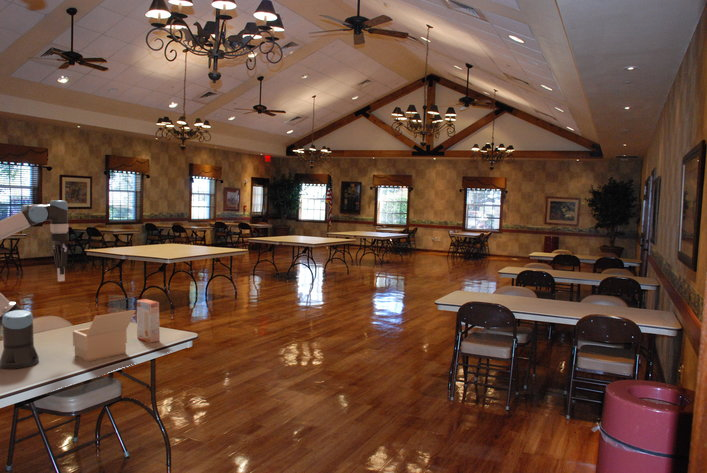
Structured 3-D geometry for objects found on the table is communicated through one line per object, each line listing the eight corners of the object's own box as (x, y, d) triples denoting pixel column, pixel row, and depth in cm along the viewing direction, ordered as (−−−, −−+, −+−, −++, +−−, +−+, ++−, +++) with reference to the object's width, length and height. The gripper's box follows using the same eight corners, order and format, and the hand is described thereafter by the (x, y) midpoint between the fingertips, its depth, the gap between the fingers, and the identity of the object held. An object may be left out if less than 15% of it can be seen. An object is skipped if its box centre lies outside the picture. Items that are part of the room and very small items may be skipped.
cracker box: (160, 341, 287) (159, 301, 286) (149, 343, 283) (148, 303, 281) (147, 336, 297) (146, 298, 295) (136, 338, 292) (136, 299, 291)
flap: (125, 328, 264) (126, 329, 264) (86, 335, 250) (86, 336, 250) (135, 309, 257) (135, 310, 257) (95, 316, 243) (95, 317, 243)
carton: (127, 353, 265) (126, 328, 264) (86, 362, 251) (85, 336, 250) (112, 347, 275) (112, 323, 274) (73, 355, 260) (72, 330, 259)
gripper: (73, 232, 263) (75, 281, 265) (62, 231, 272) (63, 278, 273) (57, 233, 258) (58, 283, 259) (46, 232, 266) (47, 280, 268)
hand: (61, 281), depth 266 cm, fingers closed
